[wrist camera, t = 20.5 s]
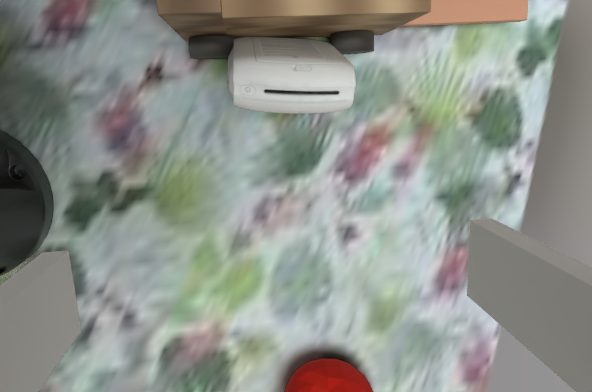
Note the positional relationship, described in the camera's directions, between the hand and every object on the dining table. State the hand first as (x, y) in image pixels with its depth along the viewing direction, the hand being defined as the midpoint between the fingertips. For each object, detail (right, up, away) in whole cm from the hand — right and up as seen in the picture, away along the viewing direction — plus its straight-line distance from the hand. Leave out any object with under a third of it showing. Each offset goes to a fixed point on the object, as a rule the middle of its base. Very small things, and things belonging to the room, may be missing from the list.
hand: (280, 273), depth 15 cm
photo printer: (-1, +16, +29) cm, 33 cm away
